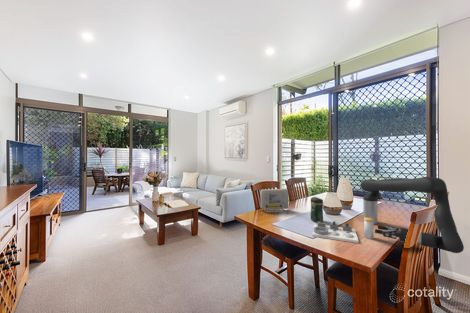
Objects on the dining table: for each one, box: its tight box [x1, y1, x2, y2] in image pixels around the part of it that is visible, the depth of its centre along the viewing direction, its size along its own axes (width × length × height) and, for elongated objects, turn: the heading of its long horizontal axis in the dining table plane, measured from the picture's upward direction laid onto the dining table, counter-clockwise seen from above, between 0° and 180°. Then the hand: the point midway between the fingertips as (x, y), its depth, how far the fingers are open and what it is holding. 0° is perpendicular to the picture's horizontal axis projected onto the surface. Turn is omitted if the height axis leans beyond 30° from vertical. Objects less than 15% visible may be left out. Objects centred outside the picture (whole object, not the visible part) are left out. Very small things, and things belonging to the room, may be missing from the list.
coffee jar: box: [310, 196, 324, 223], centre depth 162 cm, size 10×8×19 cm
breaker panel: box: [311, 218, 359, 244], centre depth 136 cm, size 20×26×6 cm
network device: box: [260, 188, 289, 213], centre depth 192 cm, size 26×9×20 cm, turn 94°
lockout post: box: [363, 217, 375, 240], centre depth 130 cm, size 5×5×12 cm
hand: (376, 228), depth 127 cm, fingers open, 8 cm apart
